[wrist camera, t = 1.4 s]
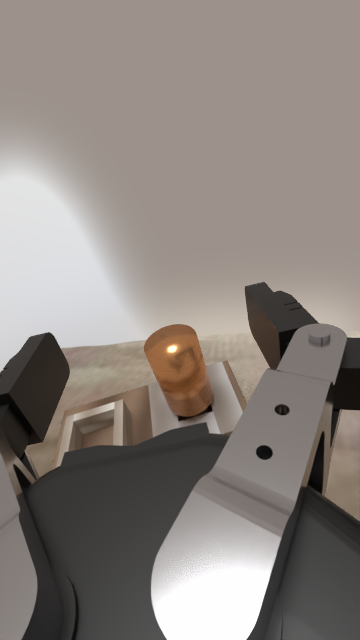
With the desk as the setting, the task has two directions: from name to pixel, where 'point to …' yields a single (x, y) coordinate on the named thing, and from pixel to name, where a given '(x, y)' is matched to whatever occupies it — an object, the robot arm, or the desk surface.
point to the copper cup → (180, 370)
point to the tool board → (147, 415)
